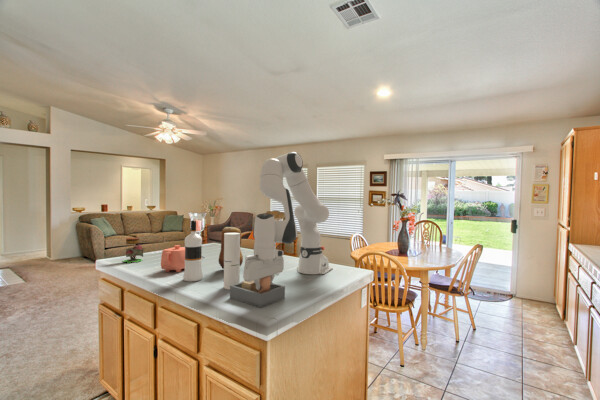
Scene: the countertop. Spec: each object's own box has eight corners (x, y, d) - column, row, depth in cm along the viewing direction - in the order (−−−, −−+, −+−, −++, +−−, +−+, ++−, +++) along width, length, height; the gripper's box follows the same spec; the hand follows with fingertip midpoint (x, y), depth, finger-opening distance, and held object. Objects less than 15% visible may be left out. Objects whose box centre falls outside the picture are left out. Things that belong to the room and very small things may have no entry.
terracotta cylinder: (266, 291, 121) (266, 274, 121) (272, 294, 118) (272, 277, 117) (255, 293, 118) (256, 276, 118) (261, 296, 114) (262, 279, 114)
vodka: (179, 281, 143) (179, 220, 143) (189, 276, 152) (190, 219, 152) (196, 282, 141) (197, 221, 141) (206, 277, 151) (206, 220, 150)
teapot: (179, 264, 179) (179, 241, 179) (198, 266, 176) (198, 242, 176) (154, 273, 157) (154, 247, 157) (175, 275, 154) (175, 248, 154)
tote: (254, 289, 131) (254, 278, 131) (284, 298, 121) (284, 286, 121) (229, 297, 120) (230, 285, 120) (260, 308, 109) (261, 294, 109)
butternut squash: (246, 268, 171) (247, 226, 171) (236, 274, 158) (237, 228, 158) (225, 267, 174) (225, 225, 174) (213, 272, 161) (214, 227, 161)
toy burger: (142, 262, 183) (142, 239, 183) (119, 263, 180) (120, 239, 179) (146, 259, 195) (146, 236, 195) (124, 260, 191) (125, 237, 191)
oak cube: (250, 290, 127) (250, 279, 127) (258, 293, 124) (258, 281, 124) (241, 293, 123) (241, 281, 123) (249, 296, 120) (249, 284, 120)
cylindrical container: (226, 284, 139) (226, 232, 138) (241, 284, 138) (241, 232, 138) (221, 289, 131) (222, 234, 131) (237, 289, 131) (237, 234, 131)
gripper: (251, 258, 108) (250, 295, 108) (286, 251, 124) (286, 283, 124) (239, 256, 112) (239, 292, 112) (275, 249, 128) (275, 280, 128)
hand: (264, 287), depth 118 cm, fingers closed on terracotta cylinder, 5 cm apart
